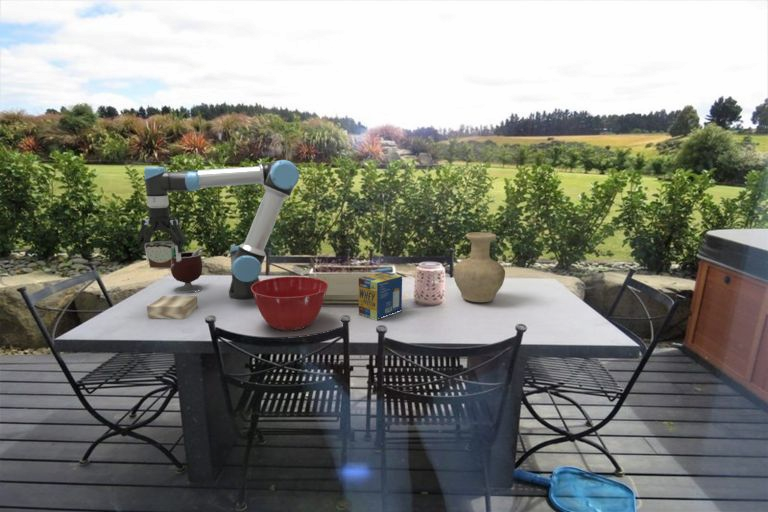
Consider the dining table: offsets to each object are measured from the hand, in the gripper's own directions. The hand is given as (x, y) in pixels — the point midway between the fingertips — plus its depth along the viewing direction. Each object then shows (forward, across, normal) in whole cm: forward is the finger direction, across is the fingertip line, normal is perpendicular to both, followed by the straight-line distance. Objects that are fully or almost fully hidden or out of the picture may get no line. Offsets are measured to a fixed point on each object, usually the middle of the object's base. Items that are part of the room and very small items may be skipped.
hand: (164, 260), depth 183 cm
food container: (+3, 0, 0) cm, 3 cm away
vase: (+22, +131, +20) cm, 134 cm away
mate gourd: (+21, -5, +31) cm, 38 cm away
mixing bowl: (+22, +54, -14) cm, 60 cm away
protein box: (+22, +87, 0) cm, 90 cm away
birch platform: (+21, +4, -3) cm, 21 cm away
